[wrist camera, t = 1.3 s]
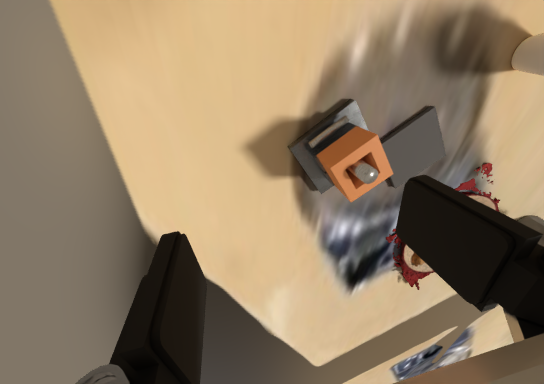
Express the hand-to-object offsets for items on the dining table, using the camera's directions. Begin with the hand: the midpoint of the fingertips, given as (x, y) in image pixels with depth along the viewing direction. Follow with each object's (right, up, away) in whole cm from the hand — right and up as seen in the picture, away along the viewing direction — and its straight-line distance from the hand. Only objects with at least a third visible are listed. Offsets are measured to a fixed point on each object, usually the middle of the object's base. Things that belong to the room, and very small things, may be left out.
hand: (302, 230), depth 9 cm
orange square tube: (+9, +6, +21) cm, 24 cm away
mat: (+22, +9, +28) cm, 37 cm away
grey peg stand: (+8, +8, +25) cm, 27 cm away
